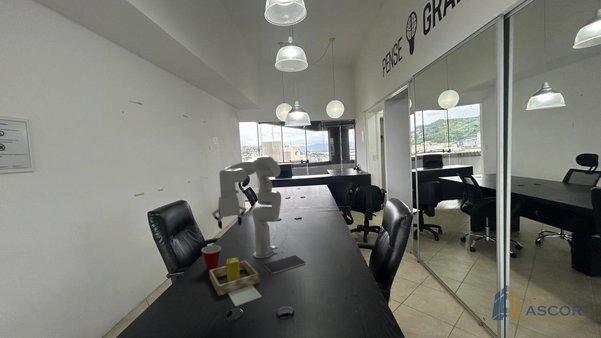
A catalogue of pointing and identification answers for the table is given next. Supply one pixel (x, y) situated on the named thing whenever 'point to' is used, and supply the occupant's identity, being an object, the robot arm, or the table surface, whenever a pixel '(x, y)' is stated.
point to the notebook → (284, 264)
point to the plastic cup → (211, 256)
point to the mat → (244, 295)
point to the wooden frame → (236, 283)
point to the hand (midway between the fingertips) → (230, 226)
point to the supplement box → (233, 269)
